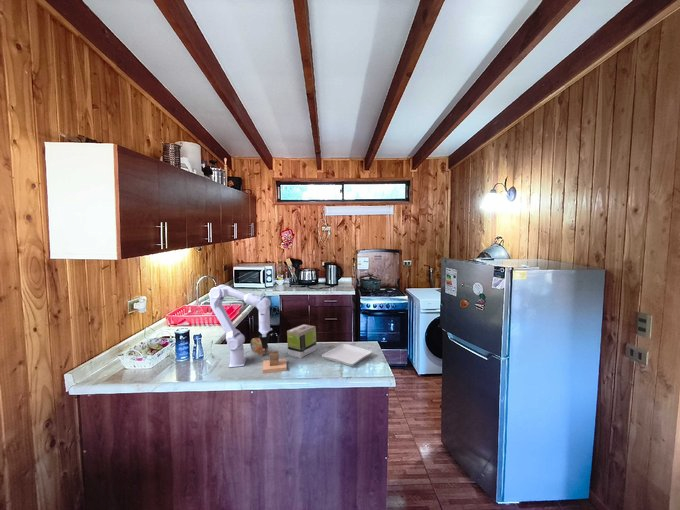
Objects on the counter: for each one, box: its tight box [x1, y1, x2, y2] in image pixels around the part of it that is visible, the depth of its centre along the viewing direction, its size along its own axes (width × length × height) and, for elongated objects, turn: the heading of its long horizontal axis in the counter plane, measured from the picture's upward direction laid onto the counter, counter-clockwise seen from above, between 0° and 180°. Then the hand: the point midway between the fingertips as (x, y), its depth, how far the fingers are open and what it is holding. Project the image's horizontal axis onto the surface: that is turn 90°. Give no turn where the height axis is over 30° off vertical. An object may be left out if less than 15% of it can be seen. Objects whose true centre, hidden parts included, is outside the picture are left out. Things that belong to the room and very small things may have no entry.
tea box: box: [286, 324, 318, 359], centre depth 190 cm, size 15×10×15 cm
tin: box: [249, 337, 269, 356], centre depth 191 cm, size 15×3×8 cm, turn 48°
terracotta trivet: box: [262, 357, 288, 374], centre depth 171 cm, size 12×12×2 cm
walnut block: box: [268, 350, 280, 366], centre depth 171 cm, size 4×4×6 cm
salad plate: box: [321, 343, 373, 367], centre depth 182 cm, size 21×21×3 cm
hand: (265, 345), depth 174 cm, fingers open, 7 cm apart
